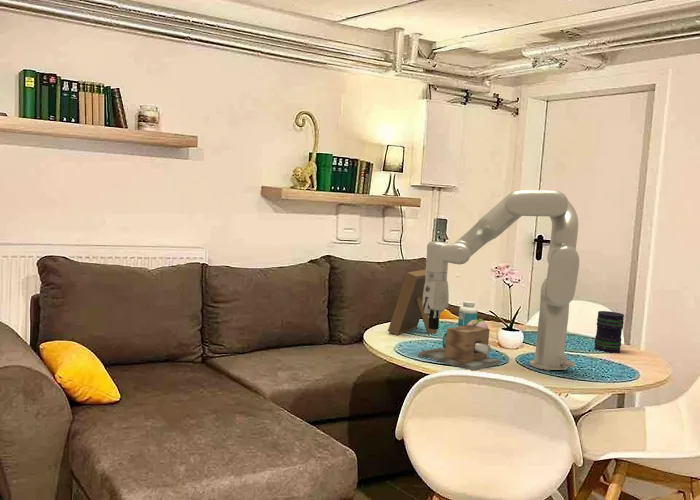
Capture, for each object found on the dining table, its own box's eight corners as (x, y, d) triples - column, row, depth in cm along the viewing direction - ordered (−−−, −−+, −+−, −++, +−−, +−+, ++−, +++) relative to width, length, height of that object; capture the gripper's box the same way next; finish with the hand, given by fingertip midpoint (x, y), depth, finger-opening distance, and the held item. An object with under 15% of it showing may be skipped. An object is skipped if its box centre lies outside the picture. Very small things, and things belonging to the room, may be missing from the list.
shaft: (491, 357, 234) (493, 339, 234) (482, 359, 230) (484, 341, 229) (451, 347, 245) (452, 330, 244) (441, 349, 240) (443, 332, 240)
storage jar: (622, 354, 272) (626, 316, 270) (595, 351, 274) (599, 313, 272) (617, 349, 281) (621, 312, 280) (592, 346, 283) (596, 310, 282)
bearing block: (498, 364, 238) (501, 330, 238) (473, 370, 226) (476, 335, 226) (443, 351, 253) (446, 319, 252) (418, 356, 241) (420, 323, 240)
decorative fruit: (468, 339, 279) (471, 314, 278) (489, 342, 275) (491, 317, 275) (461, 342, 271) (464, 317, 270) (482, 346, 267) (484, 320, 266)
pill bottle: (478, 334, 290) (481, 302, 289) (471, 337, 283) (474, 304, 282) (461, 331, 294) (464, 299, 292) (454, 334, 287) (457, 301, 286)
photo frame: (387, 333, 277) (393, 270, 275) (407, 326, 296) (413, 267, 294) (422, 340, 270) (429, 275, 268) (440, 332, 290) (447, 272, 288)
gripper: (433, 279, 237) (430, 333, 239) (457, 276, 248) (454, 328, 250) (414, 276, 242) (412, 329, 243) (439, 274, 253) (436, 325, 255)
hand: (433, 328), depth 247 cm, fingers closed
